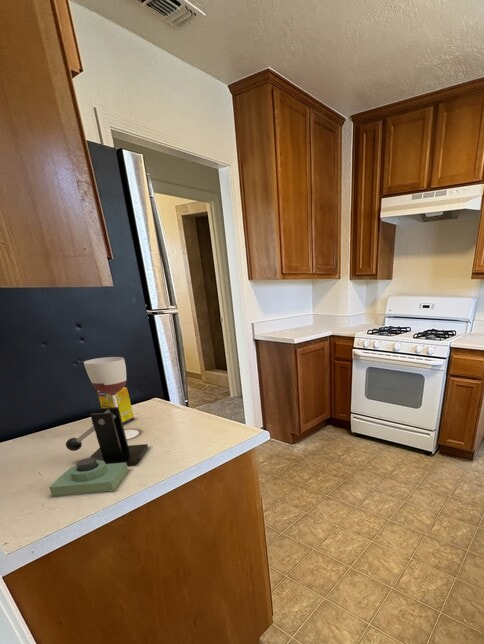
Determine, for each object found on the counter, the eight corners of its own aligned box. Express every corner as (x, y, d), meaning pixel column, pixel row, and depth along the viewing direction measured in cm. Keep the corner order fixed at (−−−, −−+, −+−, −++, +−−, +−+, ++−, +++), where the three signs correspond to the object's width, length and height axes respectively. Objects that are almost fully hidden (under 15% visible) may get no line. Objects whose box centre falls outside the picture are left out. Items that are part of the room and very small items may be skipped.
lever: (71, 455, 86) (60, 446, 85) (77, 449, 89) (66, 441, 87) (113, 421, 84) (102, 411, 83) (118, 416, 87) (108, 407, 86)
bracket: (83, 469, 84) (67, 419, 79) (100, 451, 93) (87, 405, 88) (136, 465, 86) (123, 416, 81) (148, 448, 95) (137, 402, 90)
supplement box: (105, 424, 112) (96, 391, 107) (119, 418, 117) (111, 386, 113) (121, 425, 110) (112, 392, 106) (134, 419, 116) (127, 386, 112)
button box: (52, 496, 74) (46, 479, 72) (73, 475, 82) (68, 459, 80) (113, 490, 75) (109, 474, 74) (128, 470, 83) (124, 455, 82)
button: (75, 473, 75) (73, 465, 75) (83, 465, 79) (80, 458, 78) (93, 471, 76) (91, 464, 75) (100, 463, 79) (98, 456, 78)
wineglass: (146, 433, 104) (129, 359, 96) (112, 444, 98) (90, 365, 89) (133, 426, 110) (116, 355, 101) (100, 436, 103) (78, 361, 94)
